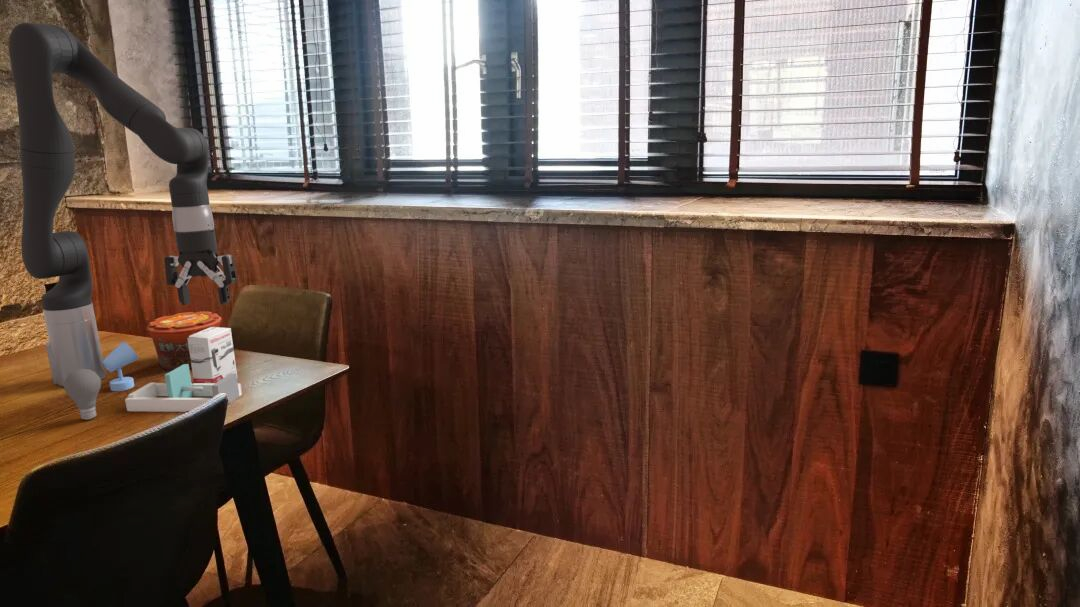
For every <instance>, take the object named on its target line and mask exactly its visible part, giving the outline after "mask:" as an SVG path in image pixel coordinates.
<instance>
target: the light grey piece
mask: <svg viewBox="0 0 1080 607" xmlns="http://www.w3.org/2000/svg"><path fill="white" fill-rule="evenodd" d="M237 377H238V374H237V375H236V373H231V374H229V375H228V376H226V377H224V378H223V379H221V380H220V381H218V382H217V383H194V382H191V383H192V387H203V391H193V396H192V397H190V398H168V393H167V387H166V382H165V383H164V382H149V383H147V384H145V385H144V386H141V387H140V388H138V389H137V390H135V391H133V392H131V393H129V394H128V395H127V397H126V398H125V399H124V401H125V406H126V411H127V412H171V413H172V412H173V413H174V412H175V413H176V412H182V413H183V412H186V411H189V410H191V409H193V408H195V407H197V406H199V405H201V404H202V403H204V402H205V401H207V400H209V399H210V398H211V397H212V398H213V397H214V396H215V395H217V394H219V393H226V394H227V395H228V397H229V401H230V404H231V403H233V402H234V401H235V400H237V399H238V398H239V397H241V396H242V394H243V393H242V384H241V383H239V382H238V378H237Z"/></svg>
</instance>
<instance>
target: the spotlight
mask: <svg viewBox="0 0 1080 607" xmlns="http://www.w3.org/2000/svg"><path fill="white" fill-rule="evenodd" d="M139 359H140V357H139V356H138V354H137V353H136V351H135V350H134V349H133V348H132V347H131V346H130V345H129V344H128V343H127V342H126V341H124V340H123V341H121V342H120V343H119V344H118V345H117V346H116V348H114V349H113V350H112V351H111V352H110V353H109V354H107V356H106V357H105V358H103V361H102V364H103V365H104V368H105V370H107V371H108V372H109V373H112V372H115V371H117V375H118V377H117V378H114V379H112V380H110V381H109V387H110V391H112V392H122V391H127V390H131V389H132V388H134V387H135V381H134V378H133V377H131V376H124V374H123V372H122V368H123V367H125V366H127V365H129V364H132V363H134V362H135V361H137V360H139Z"/></svg>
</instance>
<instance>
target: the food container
mask: <svg viewBox="0 0 1080 607" xmlns="http://www.w3.org/2000/svg"><path fill="white" fill-rule="evenodd" d="M222 321H223V320H222V317H221V316H220V315H219V314H218V313H215V312H214V313H213V312H212V311H201V310H200V311H197V312H193V311H188V312H186V311H185V312H180V313H175V314H173V315H164V316H161V317H158V318H154V319H153V321H150V322H149V324H148V325H147V326H146V332H148V333H150V335H151V339H152V342H153V346H154V348H155V352H156V354H157V359H158V362H159V364H160V367H161V368H162V369H164V370H167V371H173V370H174V369H176V368H178V367H180V366H182V365H183V364H189V370H192V366H191V359H190V352H189V345H188V339H187V338H189V336H190V335H193V334H195V333H198V332H200V331H202V330H205V329H207V328H210V327H220V325H221V323H222Z"/></svg>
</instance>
